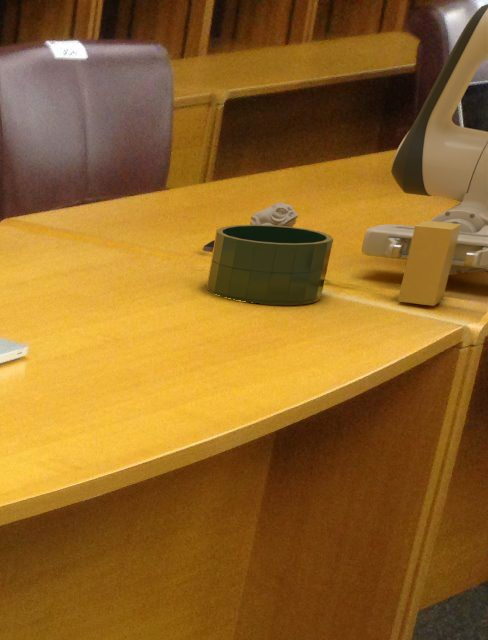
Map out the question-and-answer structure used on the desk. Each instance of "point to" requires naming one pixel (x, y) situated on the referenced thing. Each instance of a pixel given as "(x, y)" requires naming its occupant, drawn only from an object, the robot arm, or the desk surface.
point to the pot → (269, 264)
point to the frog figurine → (275, 216)
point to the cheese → (429, 262)
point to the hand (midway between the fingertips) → (431, 255)
